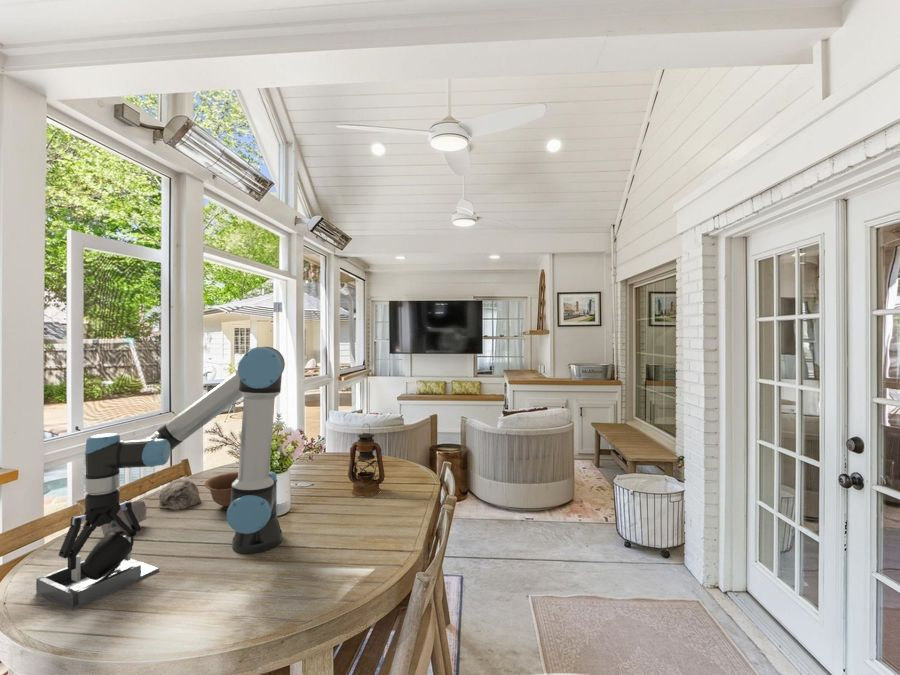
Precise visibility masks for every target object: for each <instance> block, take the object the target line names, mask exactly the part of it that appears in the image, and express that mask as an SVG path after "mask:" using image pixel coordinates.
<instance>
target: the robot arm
mask: <svg viewBox="0 0 900 675" xmlns="http://www.w3.org/2000/svg"><path fill="white" fill-rule="evenodd" d="M285 365H286V362H285V358H284V356H283V355H282V353H281V352H280V351H279V350H278V349H275V348H274V347H271V346H257V347H253V348H250V349H249V350H247V351H246V352H245V353H244V354H243V355H242V356H241V357H240V359H239V362H238V364H237V367H236V368H235V372H234V373H233V374H232V375H230V376H229V377H228V378H226V379H224V381H222V382H221V383H219V384H218V385H217V386H215V387H214V388H212V389H211V390H210V391H208V392H206V394H205V395H203V396H202V397H200V398H199V399H198V400H196V401H194V403H192V404H191V405H190V406H188V407H186V408H185V409H184V410H182V411H180V412H179V413H178V414H177V415H176V416H174V417H173V418H171V419H170V420H169V421H168V422H167V421H166V423H165V424H163V425H162V426H160V427H159V428H158V429H156V430H155V431H153V432H152V433H150V434H149V435H147V436H145V437H143V438H141V439H134V440H131V439H130V440H121V437H120V436H121V435H120V434H119V433H118V432H117V433H116V432H115V433H113V432H107V433H97V434H94V435H91V436H89V437H88V438H87V439H86V440H85V441H86V442H85V452H84V455H85V458H84V460H85V475H84V476H85V480H84V481H85V485H84V486H85V488H84V489H85V496H84V498H85V500H84V506H85V511H84V514H83V515H79V516H75V515H74V516H72V517H71V518H70V526H69V528H68V531H67V533H66V535H65V538H64V541H63V543H62V545H61V547H60V550H59V552H58V557H60V558H63V559H67V567H68V569H70V570H72V572H71V580H74V581H76V582H78V581H80V571H81V561H82V560H81V558H82V557H81V555H79V553H80V551H81V550H82V548H83V547H84V545H85V544H86V542H88V539H89V537H90V536H91V535H92V533H93V532H95V530H96V528H99V527H100V528H101V526H102V525H104V524H108V523H111V521H112V522H113V523H114V524H115V525H116V526H117V527H118V528H120V529H121V530H122V531H123V533H124V534H125V535H122V536H123V537H125V538H126V539H127V540H128V541H129V542H130V543H131V545H132V547H133V546H134V537H135V536H136V535H137V532H140V531H141V530H142V527H141V526H140V525H141V524H139V523H138V521H137V519H136V517H135V515H134V513H133V511H132V503H131V501H127V500H123V501H122V502H121V503H120V496H121V495H120V493H121V492H120V489H119V487H120V486H121V485H120V483H121V481H120V478H121V477H120V475H121V474H120V471H121V470H120V469H129V468H130V469H131V468H147V467H149V468H154V467H160V466H164V465H167V463H168V461H169V459H170V457H171V456H170V455H171V451H173V450H174V449H175V448H176V447H177V446H179V445H180V444H182V442H184V441H185V440H186V439H188V438H189V437H190V436H192V435H193V434H195V433H196V432H197V431H199V430H200V429H201V428H203V427H204V426H206V424H208V423H209V422H211V421H212V420H214V418H216V417H218V416H219V415H221V414H222V413H223V412H225V410H227V409H229V407H231V406H232V405H233V404H235V403H236V402H238V401H239V400H241V399H242V398H243V404H242V405H243V407H242V417H241V418H242V420H241V433H240V446H239V459H238V460H239V461H238V470H237V472H238V478H237V479H236V480H235V481H234V482H233V483H232V489H231V501H230V505H229V507H228V510H226V521H227V524H228V525H229V527H230V528H231V529H232V530H234V531H235V532H234V536H233V537H232V541H231V543H232V544H231V545H232V546H231V547H232V550H233V551H234V552H236V553H239V554H247V555H248V554H257V553H258V554H259V553H262V552H266V551H268V550H271V549H274V548H276V547H278V546H279V545H280V544H281V543H282V541H283V531H282V529H281V525H280V522H279V520H278V516H277V512H278V511H277V509H278V508H277V505H278V504H277V492H278V490H277V486H278V484H277V483H278V479H277V474H276V472H275V471H270V466H271V453H272V440H273V429H274V428H273V425H274V414H275V413H274V412H275V402H276V397H277V396H279V394H280V393H281V391H282V389H281V388H282V380H283V379H282V375H283V372H284V371H285V367H286V366H285ZM120 508H121V510H123V512H124V514H125V516H126V518H127V520H128V522H129V524H130V526H131V528H129V527H128V526H127V525H126V524H125V523H124V522H123V521H122V520H121V518H120V517H119V516H118V515H117V513H118V512H119V510H120ZM84 521H85V523H84ZM82 524H84V525H83V527H82V530H81V531H80V529H81V526H82ZM79 532H80V533H79ZM131 552H132V551H131ZM131 552H130V553H129V554H128V555H127V556H126V558H125V559H124V560H127V561H128V560H131V559H132V557H131V556H132V555H131Z"/></svg>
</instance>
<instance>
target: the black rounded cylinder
mask: <svg viewBox="0 0 900 675" xmlns="http://www.w3.org/2000/svg"><path fill="white" fill-rule="evenodd" d="M123 536H124V535H122V534H119V533H108V534H107V535H106V536H104V535H103V537H102V539H100V540H99V542H97V543H96V544H95V546H94V547H93V548H92V550H91V551H90V552H89V553H88V555H87V557H86V558H85V559H84V560H85V561H84V563H83V565H82V566H81V572H82V573H83V575H85V576H86V577H88V578H90V579H93V580H98V579H100V578H102V577H104V576H105V575H107V574H109V573H111V572H112V571H114V570H115V569H117V568H118V567H119V565H120V564H121V562H122V561H123V560H124V559H125V558H126V556H127V555H128V554H129V553H130V552H132V551H133V546H132V545H131V543H130V542H129V541H128V540H127V539H126V538H125V537H123Z"/></svg>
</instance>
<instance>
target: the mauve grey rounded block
mask: <svg viewBox="0 0 900 675" xmlns="http://www.w3.org/2000/svg"><path fill="white" fill-rule="evenodd" d="M130 502H131V501H130ZM131 503H132V511H133V513H134V515H135V517H136V519H137V521H138V523H140V524H141V522H143V521H145V520H147V510H148V509H147V508H148V507H147V506H146V503H145V501H144V500H135V501H134V500H133V501H132V502H131ZM117 515H118V516H119V517H120V518H121V520H122V521H123V522H124V523H125V524H126V525H127V526H128V527H129V528H131V526H130V524H129V522H128V520H127V518H126V516H125V514H124V512H123V510H121V508H120V510H119V512H118V513H117ZM100 528H101V531H102V533H103V537H104V536H106V535H107V534H108V533H117V534H119V533H122V532H123V531H122V530H121V529H120V528H118V527H117V526H116V525H115V524H114V523H113V522H112V521H111V523H108V524H104V525H102V526H100ZM123 533H124V532H123Z"/></svg>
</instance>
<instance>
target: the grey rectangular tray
mask: <svg viewBox="0 0 900 675" xmlns="http://www.w3.org/2000/svg"><path fill="white" fill-rule="evenodd" d="M85 560H86V559H84V560H81V566H82V565H83V563H84V561H85ZM159 571H160V567H157V566H156V565H155V566H154V565H152V564H148V563H146V562H142V561H139V560H137V559H133V558H131V560H128V561H127V560H123V561H122V562H121V564H120V565H119V567H118V568H117V569H115V570H114V571H112V572H111V573H109V574H107V575H105V576H104V577H102V578H100V579H98V580H93V579H90V578H88V577H86V576H85V575H83V573H82V572H81V571H80V581H78V582H76V581H74V580H71V572H72V570H70V569H68V566H65V567H63V568H61V569H58V570H55V571H52V572H50V573H48V574H45V575H42V576H40V577H37V578H36V581H35V583H36V584H35V586H36V591H35V592H36V593H35V594H37V595H38V596H40V597H42V598H45V599H47V600H49V601H51V602H53V603H55V604H58V605H60V606H61V607H64V608H66V609H68V610H70V611H72V612H73V611H76V610H78V609H80V608H82V607H83V606H86V605H88V604H91V603H92V602H95V601H97V600H99V599H101V598H103V597H105V596H108V595H110V594H112V593H115V592H116V591H119V590H121V589H123V588H125V587H127V586H129V585H131V584H134V583H135V582H138V581H139V580H142V579H144V578H146V577H149V576H150V575H153V574H156V573H157V572H159Z"/></svg>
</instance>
